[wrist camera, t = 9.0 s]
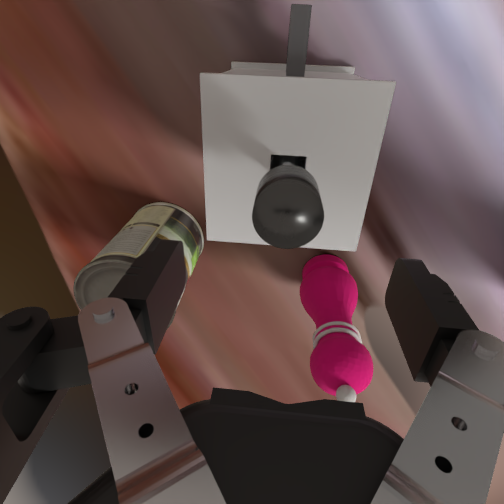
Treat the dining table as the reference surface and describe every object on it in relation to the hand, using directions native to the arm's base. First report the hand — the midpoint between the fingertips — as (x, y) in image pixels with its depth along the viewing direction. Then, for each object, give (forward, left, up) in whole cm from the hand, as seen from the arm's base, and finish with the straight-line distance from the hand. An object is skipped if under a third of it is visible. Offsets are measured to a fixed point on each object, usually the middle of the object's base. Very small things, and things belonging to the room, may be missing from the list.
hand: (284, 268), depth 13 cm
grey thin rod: (0, 0, -26) cm, 26 cm away
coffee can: (+15, +15, -28) cm, 35 cm away
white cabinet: (0, -2, -28) cm, 28 cm away
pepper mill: (-7, +19, -28) cm, 35 cm away
